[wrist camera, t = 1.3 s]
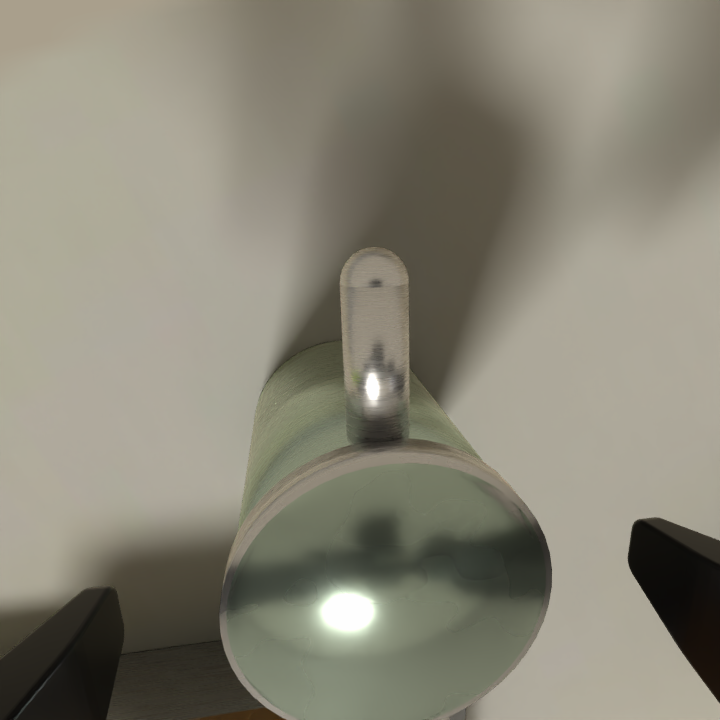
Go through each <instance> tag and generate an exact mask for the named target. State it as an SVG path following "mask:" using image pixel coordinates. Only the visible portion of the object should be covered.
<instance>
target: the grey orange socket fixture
mask: <svg viewBox="0 0 720 720" xmlns="http://www.w3.org/2000/svg"><path fill="white" fill-rule="evenodd" d="M465 716H466V708H464V709H463V710H461V711H459V712H457V713H455V714H453V715H451V716H449V717H447V718H444V719H442V720H465ZM106 720H286V719H284V718H282V717H280V716H279V715H277V714H276V713H274V712H272V711H271V710H269V709H268V708H266V707H265V706H264V705H263V704H261V703H260V702H259V701H258V700H257V699H256V698H254V697H253V696H252V695H251V694H250V692H249V691H248V690H247V689H246V688H245V687H244V686H243V684H242V683H241V682H240V680H239V679H238V677H237V676H236V674H235V672H234V671H233V669H232V668H231V665H230V663H229V661H228V658H227V656H226V653H225V651H224V647H223V642H222V641H215V642H208V643H201V644H194V645H187V646H180V647H173V648H166V649H159V650H152V651H145V652H138V653H131V654H124V655H121V656H120V660H119V665H118V669H117V673H116V678H115V682H114V687H113V691H112V696H111V700H110V705H109V709H108V714H107V718H106Z"/></svg>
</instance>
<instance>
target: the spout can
mask: <svg viewBox="0 0 720 720" xmlns="http://www.w3.org/2000/svg"><path fill="white" fill-rule="evenodd" d="M340 300H341V323H342V340H339V341H331V342H326V343H322V344H318V345H315V346H312V347H310V348H307V349H305V350H303V351H301V352H299V353H298V354H296V355H294V356H293V357H291V358H290V359H289V360H287V361H286V362H285V363H284V364H283V365H282V366H280V367H279V368H278V369H277V370H276V371H275V373H274V374H273V375H272V377H271V378H270V379H269V380H268V382H267V384H266V385H265V387H264V389H263V391H262V393H261V396H260V398H259V400H258V404H257V408H256V413H255V419H254V426H253V433H252V440H251V446H250V453H249V460H248V466H247V473H246V480H245V487H244V493H243V500H242V507H241V513H240V520H239V527H238V533H237V535H236V538H235V540H234V542H233V545H232V547H231V550H230V553H229V557H228V561H227V565H226V569H225V575H224V581H223V587H222V593H221V602H220V611H219V619H220V634H221V638H222V642H223V647H224V651H225V653H226V656H227V658H228V661H229V663H230V665H231V668H232V669H233V671H234V672H235V674H236V676H237V677H238V679H239V680H240V682H241V683H242V684H243V686H244V687H245V688H246V689H247V690H248V691H249V692H250V694H251V695H252V696H253V697H254V698H256V699H257V700H258V701H259V702H260V703H261V704H263V705H264V706H265V707H266V708H268V709H269V710H271V711H272V712H274V713H276V714H277V715H279V716H280V717H282V718H284V719H286V720H442V719H444V718H447V717H449V716H451V715H453V714H455V713H457V712H459V711H461V710H463V709H464V708H466V707H468V706H470V705H471V704H473V703H474V702H476V701H477V700H479V699H480V698H482V697H483V696H485V695H486V694H487V693H489V692H490V691H491V690H492V689H493V688H495V687H496V686H497V685H498V684H499V683H501V682H502V681H503V680H504V679H505V677H506V676H507V675H508V674H509V673H510V672H511V671H512V670H513V669H514V668H515V667H516V666H517V664H518V663H519V662H520V661H521V659H522V658H523V657H524V656H525V654H526V653H527V651H528V650H529V648H530V646H531V645H532V643H533V642H534V640H535V638H536V636H537V634H538V632H539V630H540V628H541V625H542V623H543V621H544V618H545V614H546V611H547V608H548V605H549V599H550V593H551V587H552V567H551V559H550V552H549V549H548V546H547V542H546V539H545V536H544V534H543V532H542V530H541V528H540V526H539V524H538V521H537V520H536V518H535V517H534V515H533V514H532V513H531V511H530V510H529V508H528V507H527V506H526V504H525V503H524V502H523V501H522V499H521V498H520V497H519V496H518V494H517V493H516V492H515V491H514V490H513V488H512V487H511V486H510V485H509V484H508V483H507V482H506V481H505V480H504V479H503V478H502V477H501V475H500V474H499V473H498V472H497V471H495V470H494V469H492V468H491V467H490V466H488V465H487V464H486V463H484V462H483V460H482V459H481V458H480V457H479V455H478V454H477V453H476V452H475V450H474V449H473V448H472V447H471V445H470V444H469V443H468V441H467V440H466V439H465V438H464V436H463V435H462V434H461V433H460V431H459V430H458V429H457V428H456V426H455V425H454V424H453V422H452V421H451V420H450V419H449V417H448V416H447V415H446V414H445V412H444V411H443V410H442V408H441V407H440V406H439V405H438V403H437V402H436V401H435V400H434V398H433V397H432V396H431V395H430V393H429V392H428V391H427V389H426V388H425V387H424V386H423V384H422V383H421V382H420V381H419V379H418V378H417V377H416V376H415V374H414V373H413V372H412V370H411V369H410V368H409V277H408V272H407V269H406V267H405V265H404V263H403V261H402V260H401V259H400V258H399V257H398V256H397V255H396V254H395V253H393V252H392V251H390V250H388V249H385V248H381V247H368V248H364V249H361V250H359V251H358V252H356V253H354V254H353V255H352V256H351V257H350V258H349V259H348V260H347V261H346V263H345V264H344V266H343V269H342V271H341V275H340Z"/></svg>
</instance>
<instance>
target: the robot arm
mask: <svg viewBox="0 0 720 720" xmlns="http://www.w3.org/2000/svg"><path fill="white" fill-rule="evenodd" d="M628 564H629V567H630V570H631V572H632V574H633V575H634V577H635V579H636V580H637V582H638V583H639V585H640V587H641V588H642V590H643V591H644V593H645V595H646V596H647V598H648V599H649V601H650V603H651V604H652V606H653V607H654V609H655V611H656V612H657V614H658V615H659V617H660V619H661V620H662V622H663V623H664V625H665V627H666V628H667V630H668V631H669V633H670V635H671V636H672V638H673V639H674V641H675V642H676V644H677V645H678V647H679V648H680V650H681V651H682V653H683V654H684V656H685V657H686V659H687V660H688V661H689V663H690V664H691V666H692V667H693V668H694V670H695V671H696V672H697V674H698V675H699V676H700V678H701V679H702V680H703V682H704V683H705V684H706V686H707V687H708V688H709V690H710V691H711V692H712V694H713V695H714V696H715V698H716V699H717V700H718V702H719V703H720V541H719V540H716V539H714V538H711V537H709V536H706V535H703V534H701V533H698V532H695V531H693V530H690V529H688V528H685V527H682V526H680V525H677V524H674V523H672V522H669V521H667V520H664V519H661V518H656V517H655V518H646V519H639V520H637V521H635V522H634V524H633V526H632V531H631V538H630V545H629V552H628ZM123 642H124V624H123V619H122V614H121V610H120V605H119V600H118V595H117V591H116V590H115V588H114V587H113V586H111V585H107V586H99V587H91V588H87V589H85V590H83V591H82V592H81V593H79V594H78V595H77V596H76V597H74V598H73V599H72V600H71V601H70V602H68V603H67V604H66V605H65V606H64V607H62V608H61V609H60V610H59V611H57V612H56V613H55V614H54V615H53V616H51V617H50V618H49V619H48V620H47V621H45V622H44V623H43V624H42V625H40V626H39V627H38V628H37V629H36V630H34V631H33V632H32V633H31V634H30V635H28V636H27V637H26V638H25V639H24V640H22V641H21V642H20V643H19V644H17V645H16V646H15V647H14V648H13V649H11V650H10V651H9V652H8V653H7V654H5V655H4V656H3V657H2V658H0V720H106V718H107V714H108V709H109V705H110V700H111V696H112V691H113V687H114V682H115V678H116V673H117V669H118V665H119V660H120V656H121V651H122V647H123Z"/></svg>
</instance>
